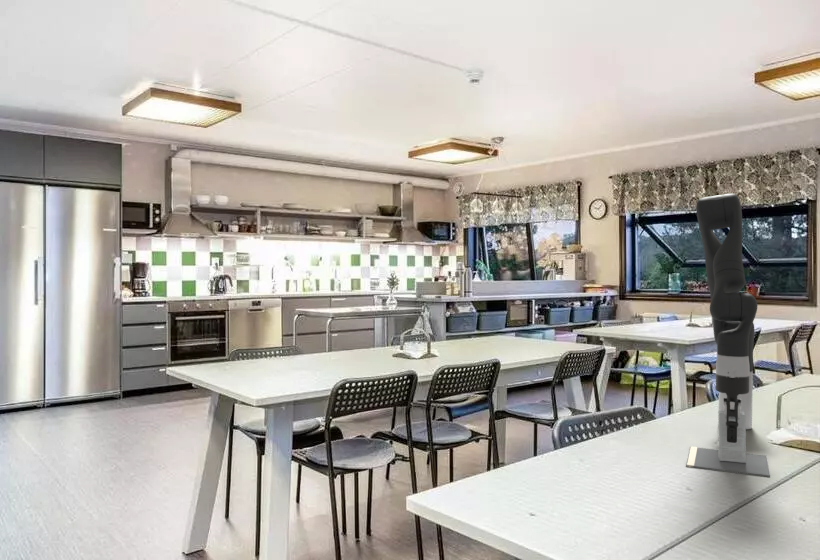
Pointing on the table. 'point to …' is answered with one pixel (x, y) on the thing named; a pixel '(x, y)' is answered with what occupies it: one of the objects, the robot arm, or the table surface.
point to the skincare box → (728, 449)
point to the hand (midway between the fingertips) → (731, 438)
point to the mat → (711, 461)
